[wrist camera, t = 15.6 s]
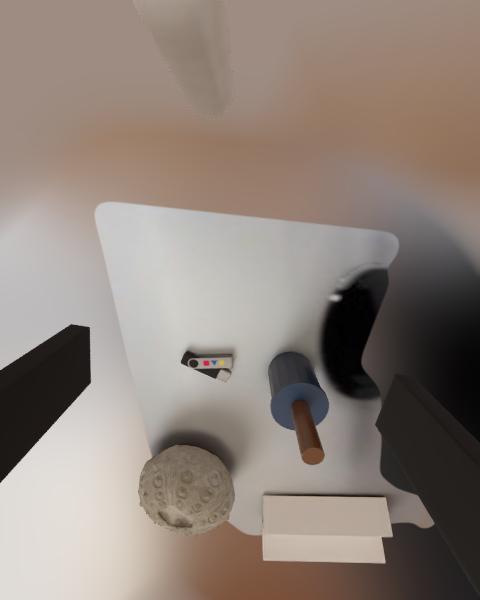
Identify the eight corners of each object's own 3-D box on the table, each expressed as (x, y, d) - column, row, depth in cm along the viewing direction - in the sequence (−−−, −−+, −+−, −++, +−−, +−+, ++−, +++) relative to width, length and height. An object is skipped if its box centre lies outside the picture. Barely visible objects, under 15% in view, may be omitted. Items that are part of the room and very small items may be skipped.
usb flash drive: (180, 360, 46) (179, 364, 45) (193, 336, 45) (192, 339, 44) (225, 380, 47) (225, 384, 47) (239, 357, 46) (239, 360, 45)
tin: (273, 348, 45) (278, 378, 37) (316, 355, 46) (330, 386, 38) (264, 385, 48) (268, 421, 40) (305, 391, 48) (317, 428, 40)
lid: (276, 373, 38) (285, 422, 29) (333, 382, 38) (359, 433, 29) (265, 420, 40) (270, 478, 32) (318, 428, 41) (338, 487, 32)
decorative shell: (246, 497, 55) (236, 560, 46) (167, 491, 59) (144, 547, 50) (228, 432, 48) (213, 490, 39) (141, 431, 52) (109, 482, 43)
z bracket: (261, 489, 61) (262, 495, 56) (372, 491, 61) (385, 497, 55) (263, 559, 56) (264, 574, 50) (384, 562, 55) (400, 577, 50)
